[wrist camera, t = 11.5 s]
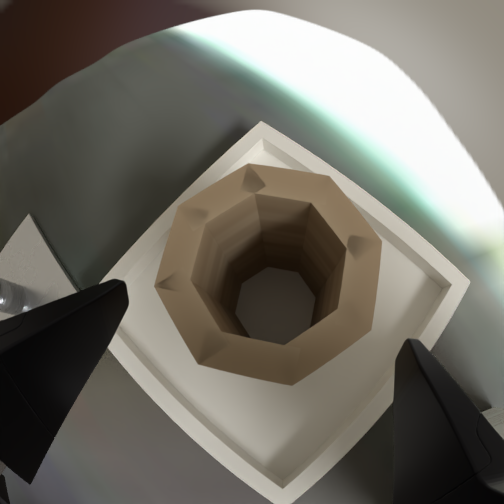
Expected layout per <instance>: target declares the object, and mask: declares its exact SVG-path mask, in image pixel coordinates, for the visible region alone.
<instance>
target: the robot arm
mask: <svg viewBox="0 0 504 504" xmlns="http://www.w3.org/2000/svg"><path fill="white" fill-rule="evenodd" d="M128 306H129V297H128V291H127V285H126V283H125V282H124V281H123V280H119V279H111V280H108V281H106V282H103V283H100V284H98V285H95V286H92V287H89V288H87V289H84V290H81V291H79V292H76V293H73V294H71V295H68V296H65V297H63V298H60V299H57V300H55V301H52V302H49V303H47V304H44V305H42V306H39V307H36V308H34V309H31V310H29V311H28V312H27V311H26V312H23V313H21V314H18V315H15V316H13V317H10V318H7V319H4V320H1V321H0V504H10V502H9V497H8V493H7V488H6V483H5V477H4V475H2V472H3V471H4V469H5V468H6V466H7V467H8V468H10V469H11V470H12V471H13V472H14V473H16V474H17V475H18V476H19V477H21V478H22V479H23V480H24V481H26V482H27V483H28V484H31V483H32V481H33V479H34V477H35V475H36V473H37V471H38V469H39V467H40V465H41V463H42V461H43V459H44V457H45V455H46V453H47V451H48V449H49V448H50V446H51V444H52V442H53V440H54V437H55V436H56V434H57V432H58V431H59V429H60V427H61V425H62V423H63V421H64V420H65V418H66V416H67V414H68V413H69V411H70V409H71V407H72V406H73V404H74V402H75V400H76V399H77V397H78V395H79V393H80V392H81V390H82V388H83V387H84V385H85V383H86V382H87V380H88V378H89V377H90V375H91V373H92V372H93V370H94V368H95V367H96V365H97V364H98V362H99V360H100V359H101V357H102V355H103V354H104V352H105V351H106V349H107V347H108V346H109V344H110V342H111V340H112V339H113V337H114V335H115V333H116V331H117V329H118V327H119V325H120V323H121V321H122V319H123V317H124V315H125V313H126V311H127V309H128ZM393 420H394V485H393V504H504V439H503V438H502V437H501V436H500V435H499V433H498V432H497V431H496V430H495V429H494V428H493V426H492V425H491V424H490V423H489V421H488V420H487V419H486V418H485V416H484V415H483V414H482V413H480V410H479V409H478V408H477V407H476V405H475V404H474V403H473V402H472V400H471V399H470V398H469V397H468V396H467V394H466V393H465V392H464V391H463V390H462V388H461V387H460V386H459V385H458V384H457V382H456V381H455V380H454V379H453V378H452V377H451V375H450V374H449V373H448V372H447V371H446V370H445V368H444V367H443V366H442V365H441V364H440V363H439V361H438V360H437V359H436V358H435V357H434V356H433V355H432V354H431V352H430V351H429V350H428V349H427V348H426V347H425V346H424V345H423V343H422V342H421V341H420V340H418V339H412V338H407V339H406V340H405V341H404V343H403V345H402V347H401V349H400V351H399V353H398V355H397V357H396V360H395V374H394V396H393Z"/></svg>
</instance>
